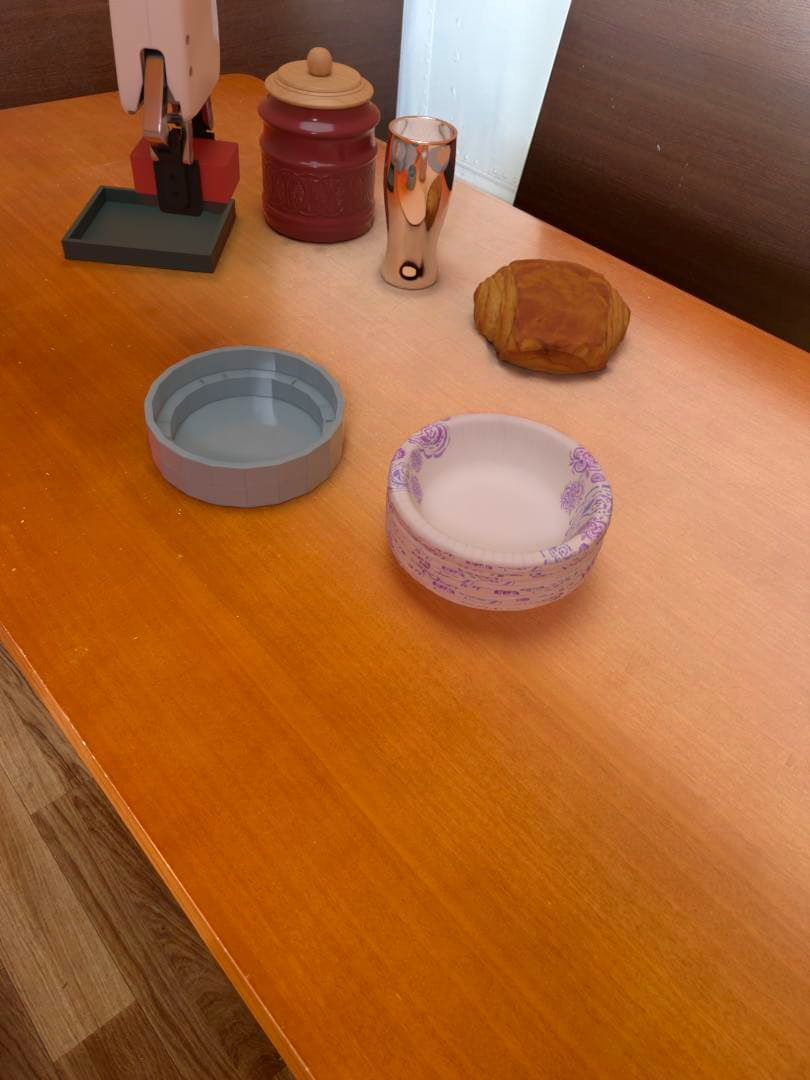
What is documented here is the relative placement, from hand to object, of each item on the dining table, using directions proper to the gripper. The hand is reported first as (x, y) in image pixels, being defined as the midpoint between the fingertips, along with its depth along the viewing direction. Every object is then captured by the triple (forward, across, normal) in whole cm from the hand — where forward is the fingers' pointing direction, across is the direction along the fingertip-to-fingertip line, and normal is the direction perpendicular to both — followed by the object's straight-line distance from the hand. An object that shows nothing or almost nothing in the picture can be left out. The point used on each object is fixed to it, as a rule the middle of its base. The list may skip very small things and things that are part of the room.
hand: (189, 195), depth 61 cm
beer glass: (+15, -19, +18) cm, 30 cm away
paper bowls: (+15, +21, +25) cm, 36 cm away
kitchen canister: (+15, -30, +6) cm, 34 cm away
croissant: (+15, -9, +32) cm, 36 cm away
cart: (0, 0, 0) cm, 0 cm away
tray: (+15, -21, -10) cm, 28 cm away
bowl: (+15, +11, +6) cm, 20 cm away
